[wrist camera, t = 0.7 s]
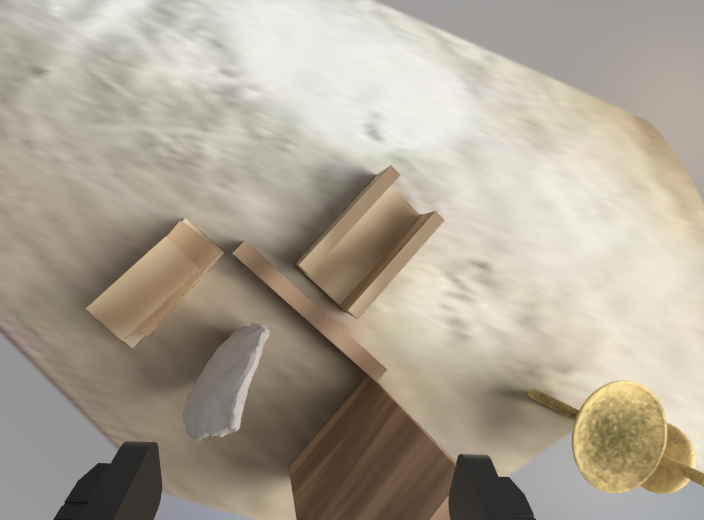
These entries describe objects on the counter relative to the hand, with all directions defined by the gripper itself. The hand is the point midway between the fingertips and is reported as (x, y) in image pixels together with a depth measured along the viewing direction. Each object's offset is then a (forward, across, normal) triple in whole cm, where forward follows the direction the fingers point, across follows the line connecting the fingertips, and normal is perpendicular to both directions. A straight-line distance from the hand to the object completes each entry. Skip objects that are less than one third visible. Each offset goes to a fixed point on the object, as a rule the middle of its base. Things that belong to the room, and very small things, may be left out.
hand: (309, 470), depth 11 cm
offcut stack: (+27, +14, +8) cm, 31 cm away
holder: (+31, -4, +4) cm, 31 cm away
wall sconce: (+28, -27, +21) cm, 44 cm away
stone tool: (+25, +8, +14) cm, 30 cm away
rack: (+25, +4, +15) cm, 30 cm away
